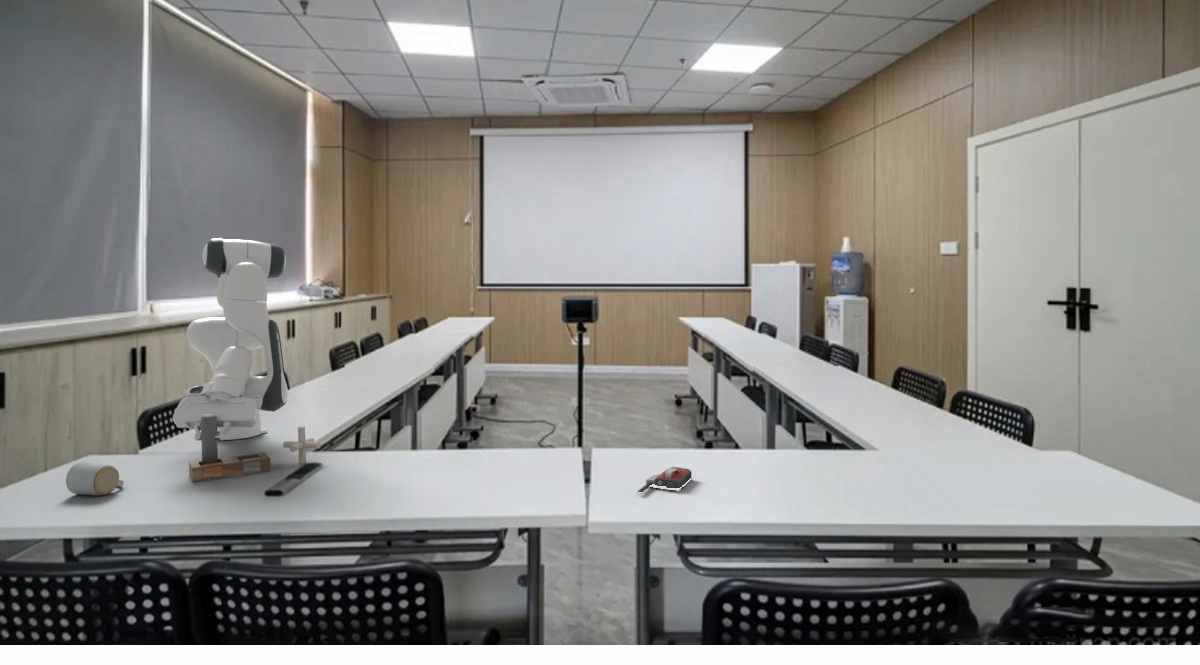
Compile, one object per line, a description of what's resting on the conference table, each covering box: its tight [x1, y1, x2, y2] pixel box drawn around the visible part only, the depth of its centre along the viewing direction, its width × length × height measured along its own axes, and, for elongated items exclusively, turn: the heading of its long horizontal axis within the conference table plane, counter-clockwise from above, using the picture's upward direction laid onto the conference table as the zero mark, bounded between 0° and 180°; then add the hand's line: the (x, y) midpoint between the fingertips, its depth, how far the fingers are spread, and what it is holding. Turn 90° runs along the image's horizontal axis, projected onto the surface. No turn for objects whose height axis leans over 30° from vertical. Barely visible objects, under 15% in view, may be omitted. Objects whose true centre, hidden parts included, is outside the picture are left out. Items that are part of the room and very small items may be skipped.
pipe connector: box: [282, 426, 322, 464], centre depth 195 cm, size 10×10×10 cm
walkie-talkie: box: [637, 466, 692, 493], centre depth 173 cm, size 9×4×20 cm
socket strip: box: [188, 451, 272, 482], centre depth 184 cm, size 8×18×4 cm, turn 125°
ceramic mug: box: [65, 460, 125, 496], centre depth 167 cm, size 11×8×8 cm
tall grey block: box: [200, 414, 219, 464], centre depth 181 cm, size 4×4×13 cm
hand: (208, 439), depth 180 cm, fingers closed on tall grey block, 4 cm apart
